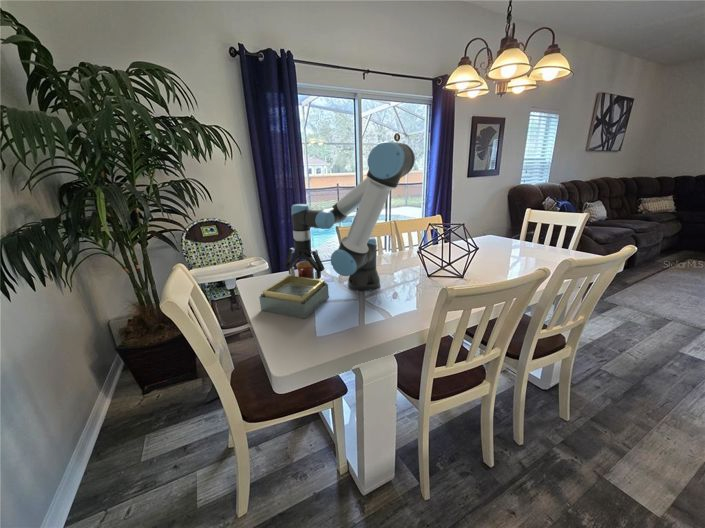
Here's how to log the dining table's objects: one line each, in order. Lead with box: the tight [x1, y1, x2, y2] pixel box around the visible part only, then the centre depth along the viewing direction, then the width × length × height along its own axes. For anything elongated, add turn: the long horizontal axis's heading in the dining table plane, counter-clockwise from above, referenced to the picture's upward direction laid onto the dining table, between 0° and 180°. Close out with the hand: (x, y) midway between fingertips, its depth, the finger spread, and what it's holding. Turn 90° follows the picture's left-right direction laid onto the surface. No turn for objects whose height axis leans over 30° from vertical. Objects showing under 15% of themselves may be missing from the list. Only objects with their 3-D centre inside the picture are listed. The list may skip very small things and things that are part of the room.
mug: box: [295, 260, 315, 279], centre depth 135 cm, size 12×9×10 cm
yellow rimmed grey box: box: [258, 274, 329, 320], centre depth 118 cm, size 23×20×9 cm
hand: (305, 282), depth 136 cm, fingers open, 13 cm apart
